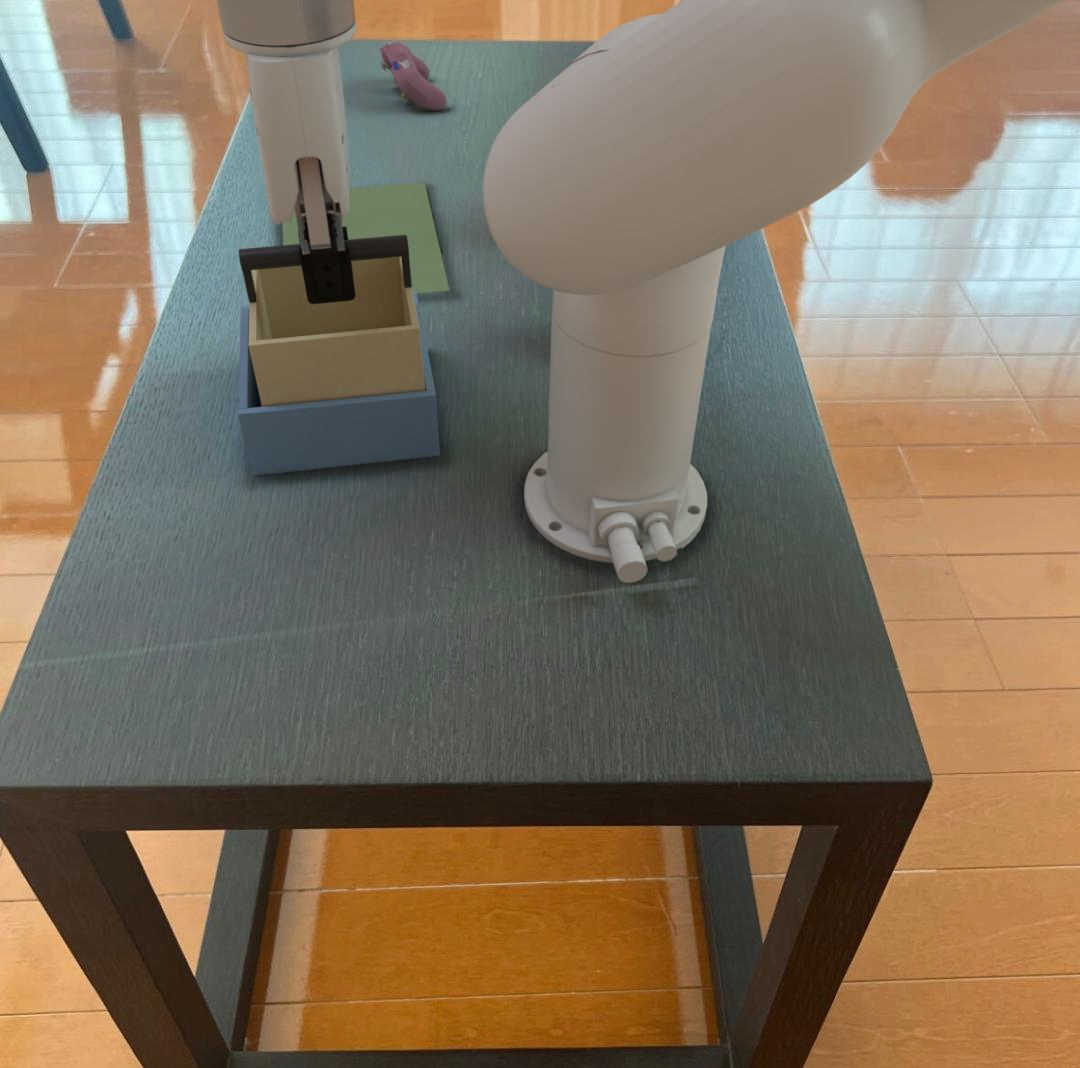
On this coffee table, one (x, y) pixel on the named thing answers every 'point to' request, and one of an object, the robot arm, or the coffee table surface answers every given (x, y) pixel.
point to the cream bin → (333, 326)
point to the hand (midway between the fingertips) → (331, 290)
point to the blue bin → (335, 423)
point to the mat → (394, 228)
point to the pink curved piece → (411, 76)
